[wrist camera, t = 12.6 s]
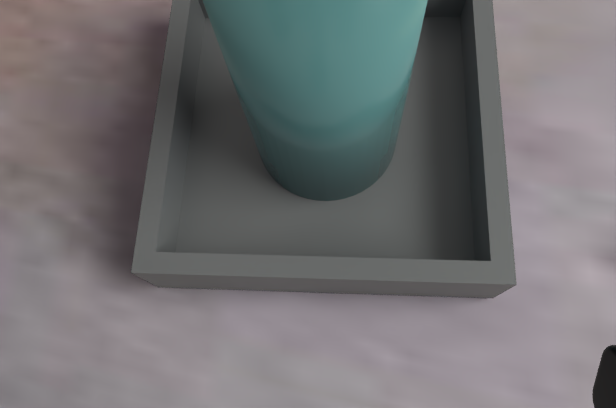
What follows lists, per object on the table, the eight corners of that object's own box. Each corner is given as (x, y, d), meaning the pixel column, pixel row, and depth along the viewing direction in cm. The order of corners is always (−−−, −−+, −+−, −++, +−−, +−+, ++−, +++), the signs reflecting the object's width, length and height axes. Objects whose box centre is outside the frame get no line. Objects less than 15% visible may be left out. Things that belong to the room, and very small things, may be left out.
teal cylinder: (353, 226, 21) (365, 29, 9) (231, 160, 23) (106, -86, 11) (420, 110, 23) (504, -186, 11) (302, 55, 24) (262, -264, 12)
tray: (492, 298, 21) (516, 284, 18) (158, 287, 22) (130, 272, 19) (473, 13, 25) (489, -34, 22) (194, 15, 26) (176, -30, 23)
